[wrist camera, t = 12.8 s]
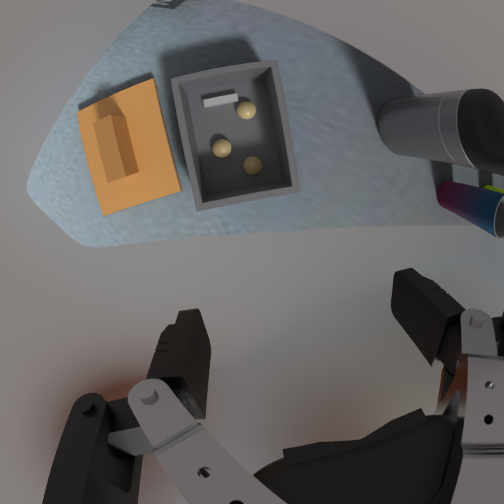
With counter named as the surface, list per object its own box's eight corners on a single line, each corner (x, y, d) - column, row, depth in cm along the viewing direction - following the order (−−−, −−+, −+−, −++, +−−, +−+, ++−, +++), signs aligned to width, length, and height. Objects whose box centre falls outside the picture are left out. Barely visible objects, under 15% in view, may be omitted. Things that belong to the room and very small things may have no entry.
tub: (268, 74, 31) (276, 59, 24) (287, 183, 37) (299, 192, 30) (181, 90, 31) (170, 78, 24) (203, 199, 37) (197, 211, 30)
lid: (157, 81, 30) (141, 69, 24) (183, 188, 36) (173, 197, 30) (83, 113, 30) (58, 110, 24) (109, 212, 37) (87, 226, 30)
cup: (429, 185, 38) (491, 207, 24) (451, 170, 37) (512, 186, 23) (438, 218, 41) (495, 247, 27) (459, 201, 40) (515, 225, 26)
